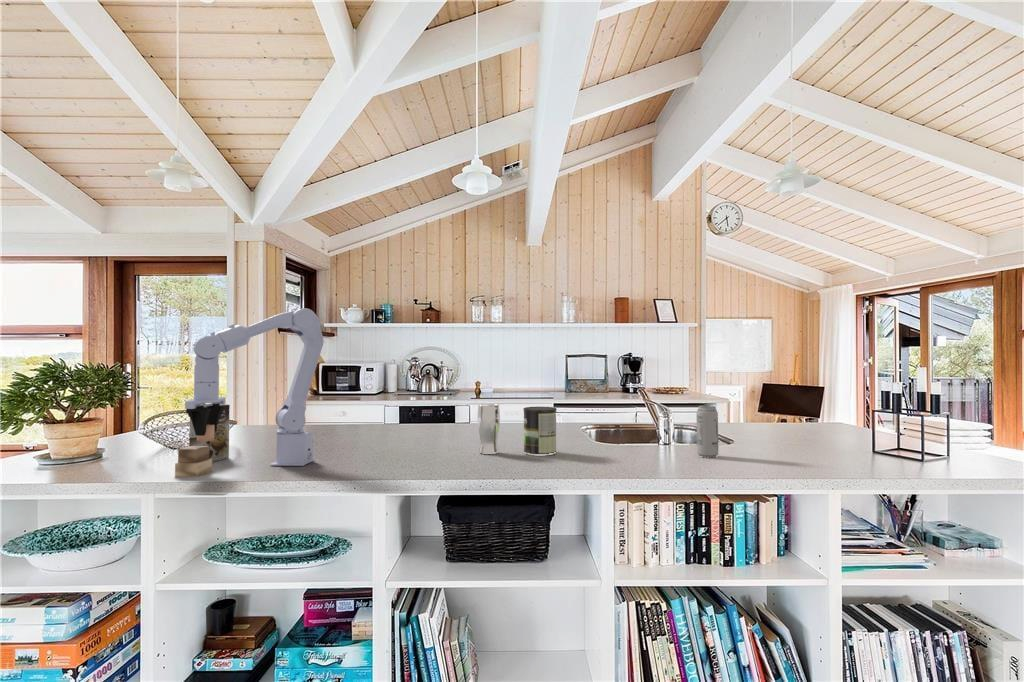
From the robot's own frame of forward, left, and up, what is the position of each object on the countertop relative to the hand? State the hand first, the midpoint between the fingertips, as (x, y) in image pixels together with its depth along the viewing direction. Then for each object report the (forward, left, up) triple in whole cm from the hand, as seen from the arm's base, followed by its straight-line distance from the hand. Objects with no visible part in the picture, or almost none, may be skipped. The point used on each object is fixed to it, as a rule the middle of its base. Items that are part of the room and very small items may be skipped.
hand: (205, 434), depth 143 cm
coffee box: (+9, -17, -10) cm, 22 cm away
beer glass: (-72, -31, -10) cm, 79 cm away
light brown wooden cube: (0, 0, -2) cm, 2 cm away
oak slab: (+2, +1, -10) cm, 11 cm away
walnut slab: (+2, +1, -7) cm, 7 cm away
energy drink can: (-138, -27, -10) cm, 141 cm away
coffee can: (-88, -31, -10) cm, 94 cm away
